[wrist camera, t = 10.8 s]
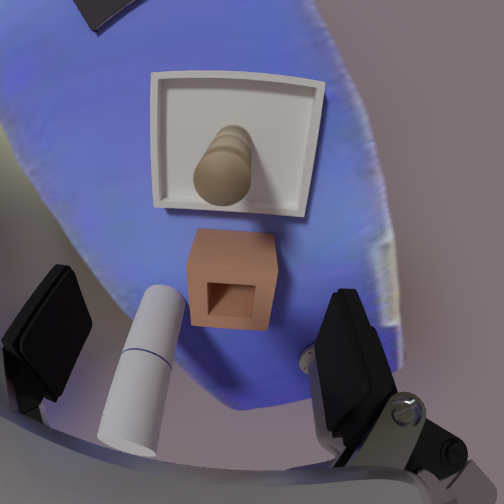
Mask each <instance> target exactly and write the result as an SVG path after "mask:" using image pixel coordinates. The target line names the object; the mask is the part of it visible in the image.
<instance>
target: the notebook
mask: <svg viewBox="0 0 504 504" xmlns="http://www.w3.org/2000/svg"><path fill="white" fill-rule="evenodd" d="M73 1H74V2H75V4H76V6H77V7H78V9H79V11H80V12H81V14H82V16H83V17H84V19H85V21H86V22H87V24H88V26H89V27H90V29H91V30H92V31H94V32H97V31H96V30H97V29H98V28H99V27H101V26H102V25H103V24H104V23H106V22H107V21H108V20H109V19H111V18H112V17H113V16H114V15H116V14H117V13H118V12H120V11H121V10H122V9H124V8H125V7H127V6H128V5H129V4H131V3H132V2H134V1H135V0H73Z"/></svg>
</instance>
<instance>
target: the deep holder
mask: <svg viewBox="0 0 504 504" xmlns="http://www.w3.org/2000/svg"><path fill="white" fill-rule="evenodd" d="M186 266H187V280H188V294H189V305H190V316H191V325H192V326H203V327H215V328H228V329H244V330H264V331H267V330H268V325H269V320H270V314H271V309H272V303H273V298H274V293H275V287H276V281H277V276H278V264H277V256H276V248H275V240H274V234H273V233H259V232H245V231H231V230H216V229H200V228H198V229H197V232H196V236H195V239H194V242H193V245H192V248H191V251H190V255H189V258H188V261H187V264H186Z"/></svg>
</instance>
